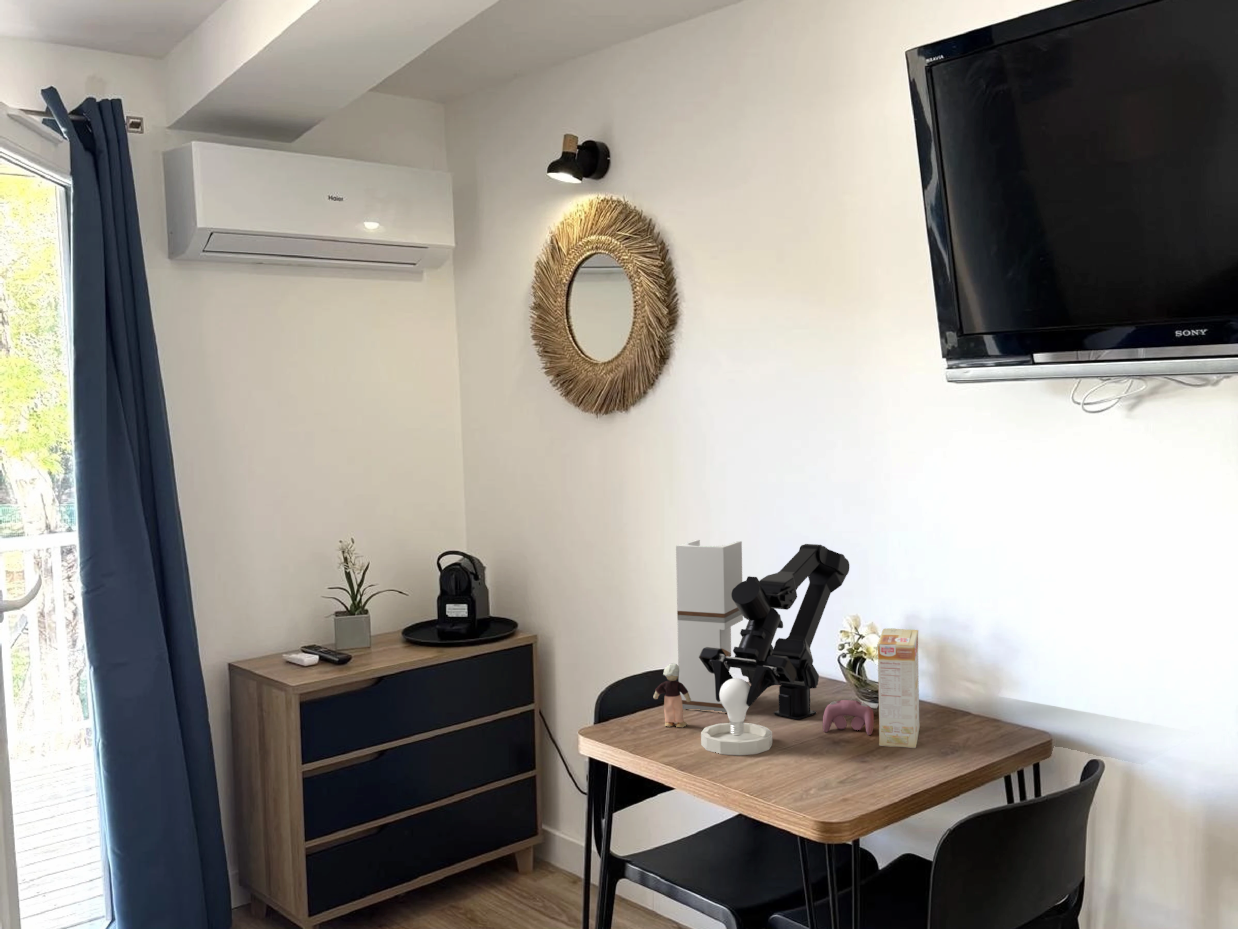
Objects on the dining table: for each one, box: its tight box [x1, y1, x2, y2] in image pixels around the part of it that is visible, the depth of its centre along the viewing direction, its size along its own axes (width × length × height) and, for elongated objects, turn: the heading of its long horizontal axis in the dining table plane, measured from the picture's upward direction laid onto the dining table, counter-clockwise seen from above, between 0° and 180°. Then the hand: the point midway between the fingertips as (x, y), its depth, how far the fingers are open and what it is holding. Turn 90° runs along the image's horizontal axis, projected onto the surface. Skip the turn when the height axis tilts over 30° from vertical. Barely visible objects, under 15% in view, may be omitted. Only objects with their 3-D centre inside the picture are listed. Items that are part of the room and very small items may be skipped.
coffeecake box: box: [877, 627, 920, 749], centre depth 217 cm, size 15×7×20 cm, turn 162°
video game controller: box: [822, 699, 875, 736], centre depth 222 cm, size 10×5×7 cm, turn 72°
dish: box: [700, 722, 773, 756], centre depth 214 cm, size 13×13×2 cm
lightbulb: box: [719, 677, 751, 736], centre depth 214 cm, size 6×6×11 cm
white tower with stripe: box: [675, 539, 744, 712], centre depth 242 cm, size 11×11×35 cm
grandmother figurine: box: [653, 662, 691, 728], centre depth 227 cm, size 8×4×13 cm, turn 84°
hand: (732, 703), depth 212 cm, fingers closed on lightbulb, 6 cm apart
